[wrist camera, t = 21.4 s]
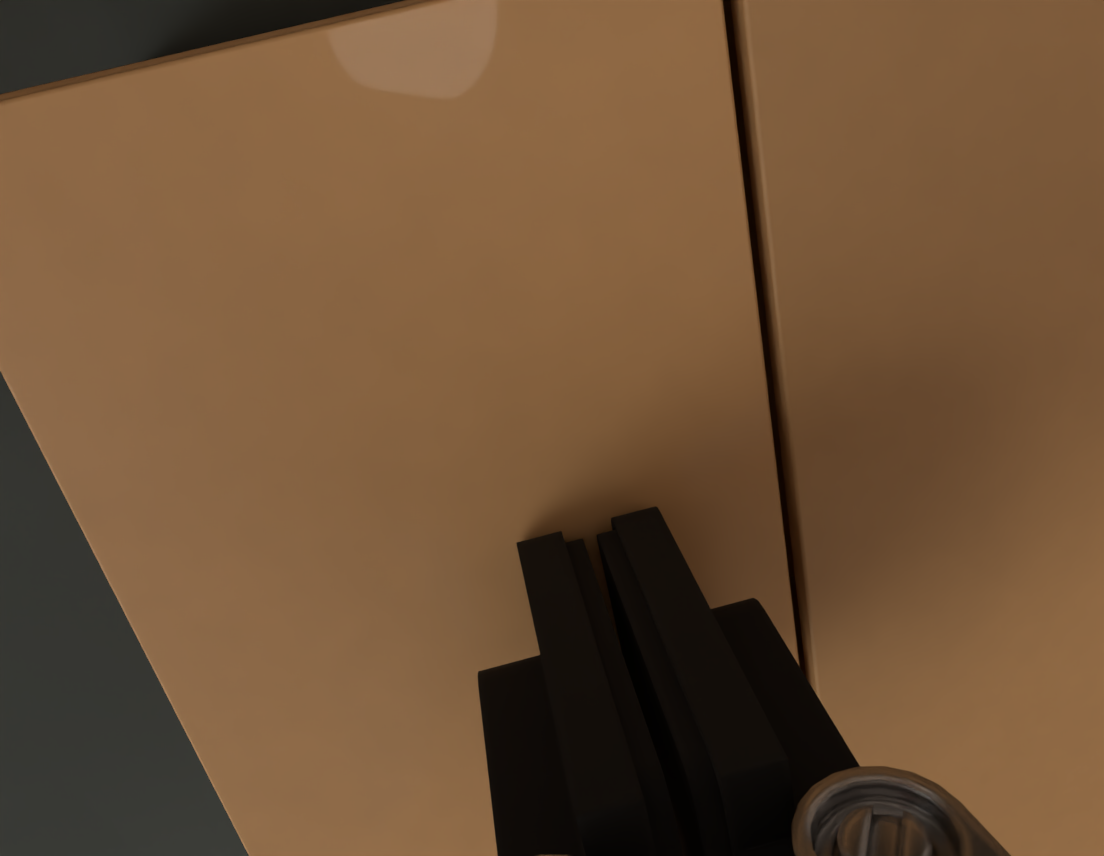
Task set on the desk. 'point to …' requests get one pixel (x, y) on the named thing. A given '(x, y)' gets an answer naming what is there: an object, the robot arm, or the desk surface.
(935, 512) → the carton
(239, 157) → the flap
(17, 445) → the desk surface
